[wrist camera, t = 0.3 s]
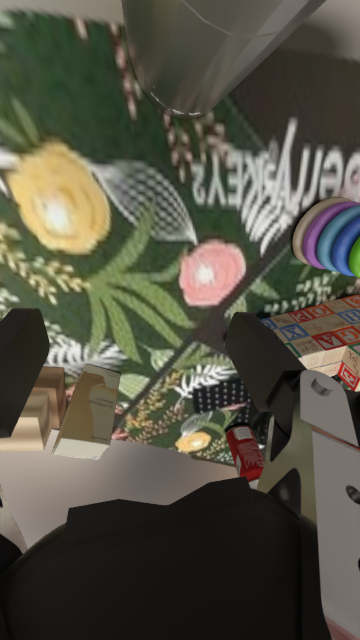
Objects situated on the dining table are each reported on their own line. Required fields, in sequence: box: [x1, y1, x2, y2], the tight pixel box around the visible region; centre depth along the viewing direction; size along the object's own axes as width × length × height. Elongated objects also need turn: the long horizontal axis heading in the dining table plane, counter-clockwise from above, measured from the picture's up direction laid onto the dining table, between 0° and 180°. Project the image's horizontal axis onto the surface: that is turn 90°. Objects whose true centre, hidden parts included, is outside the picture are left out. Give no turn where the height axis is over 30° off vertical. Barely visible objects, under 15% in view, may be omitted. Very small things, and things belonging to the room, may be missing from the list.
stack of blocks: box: [260, 295, 360, 391], centre depth 31 cm, size 21×6×12 cm, turn 101°
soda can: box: [226, 425, 265, 489], centre depth 50 cm, size 7×7×12 cm
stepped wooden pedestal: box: [0, 367, 67, 451], centre depth 32 cm, size 11×11×8 cm
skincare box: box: [51, 364, 121, 460], centre depth 31 cm, size 6×4×12 cm
